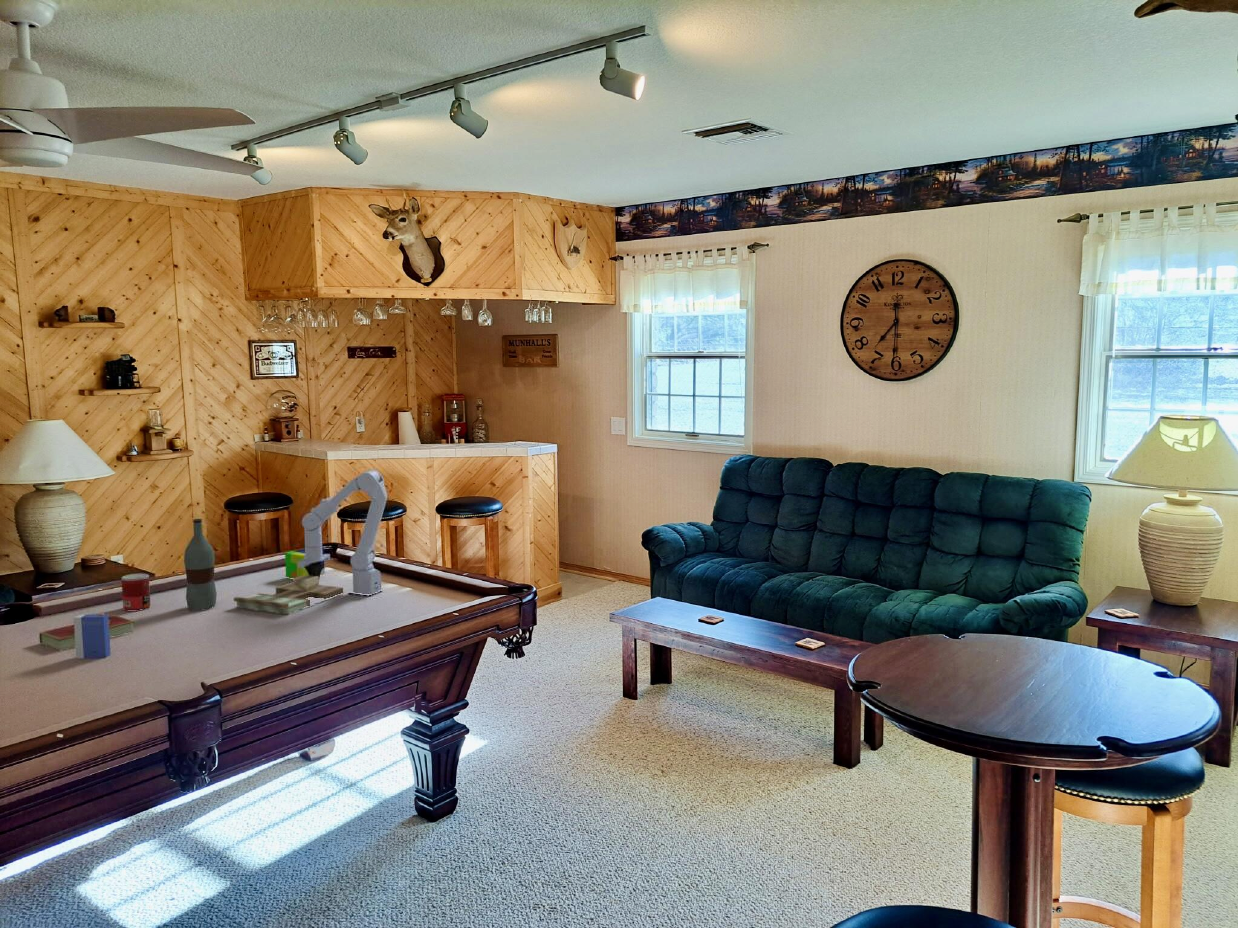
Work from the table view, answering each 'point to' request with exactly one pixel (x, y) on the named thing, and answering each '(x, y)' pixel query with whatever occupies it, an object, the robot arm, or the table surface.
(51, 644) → the hardcover book
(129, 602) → the canned food
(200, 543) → the bottle
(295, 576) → the puzzle toy
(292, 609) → the trap deck
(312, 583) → the maple block
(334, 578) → the table surface
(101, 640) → the walkman
